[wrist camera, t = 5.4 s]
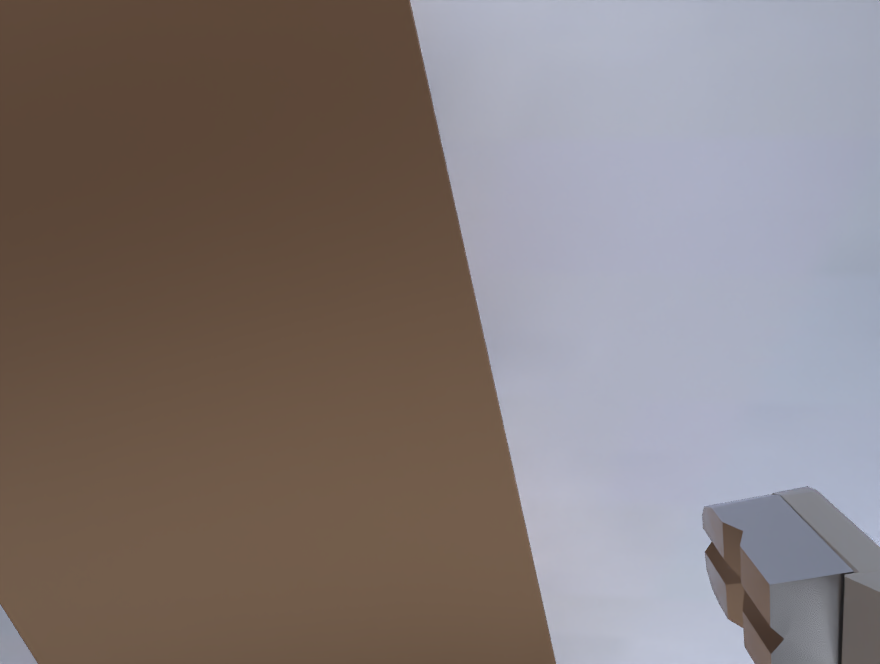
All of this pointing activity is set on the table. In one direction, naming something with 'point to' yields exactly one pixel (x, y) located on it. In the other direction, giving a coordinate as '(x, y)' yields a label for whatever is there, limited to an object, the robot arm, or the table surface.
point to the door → (244, 347)
